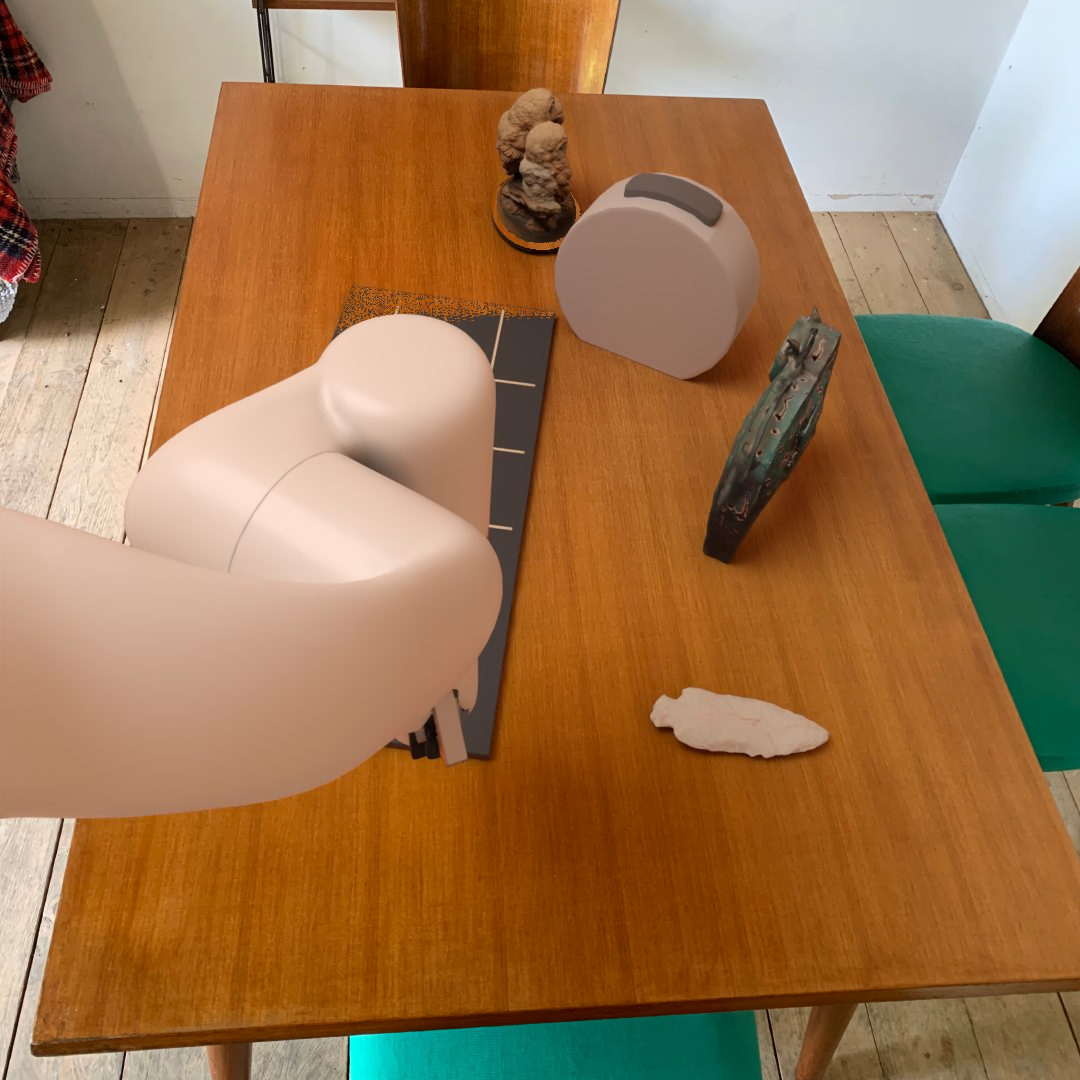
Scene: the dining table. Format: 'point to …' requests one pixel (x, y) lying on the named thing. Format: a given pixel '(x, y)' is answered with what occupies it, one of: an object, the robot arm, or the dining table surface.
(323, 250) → the dining table surface
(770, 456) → the ceramic cat
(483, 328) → the board
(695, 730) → the stone tool
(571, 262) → the alarm clock
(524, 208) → the owl figurine
